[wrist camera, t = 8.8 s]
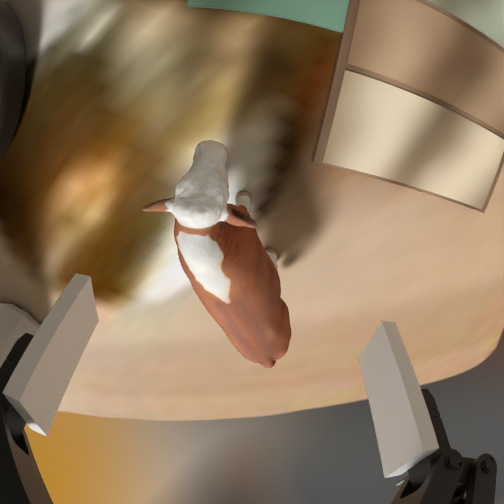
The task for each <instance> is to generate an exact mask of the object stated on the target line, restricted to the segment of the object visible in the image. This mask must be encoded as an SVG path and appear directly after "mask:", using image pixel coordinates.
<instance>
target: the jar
mask: <svg viewBox="0 0 504 504" xmlns="http://www.w3.org/2000/svg"><path fill="white" fill-rule="evenodd" d="M40 326H41V325H40V324H39V323H38V322H37V321H36V320H35V319H34V318H33V317H32V316H30V315H29V314H28V313H27V312H26V311H24V310H22V309H20V308H19V307H17V306H15V305H13V304H7V303H0V368H1V366H2V364H3V362H4V361H5V359H6V357H7V355H8V354H9V352H11V349H12V347H13V346H14V344H15V342H16V341H17V340H18V339H19V338H20V337H21V336H23V335H24V334H25V333H29V334H31V335H35V334H36V332H37V331H38V329H39V327H40Z"/></svg>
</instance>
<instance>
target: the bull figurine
mask: <svg viewBox="0 0 504 504" xmlns="http://www.w3.org/2000/svg"><path fill="white" fill-rule="evenodd" d="M227 156H228V151H227V148H226V147H225V146H224V145H223V144H221V143H219V142H216V141H212V140H207V141H203V142H201V143H199V144H198V145H197V147H196V150H195V154H194V158H193V165H192V167H191V169H190V170H189V172H188V173H187V174H186V175H185V176H184V177H183V178H182V179H181V181H180V182H179V183H178V184H177V186H176V195H175V197H173V198H169V199H163V200H160V201H156V202H154V203H151V204H149V205H146V206H144V207H143V208H142V210H143V211H156V212H164V211H169V212H172V213H173V214H174V216H175V217H176V218H175V226H174V237H175V241H176V244H177V247H178V255H179V259H180V263H181V265H182V268H183V270H184V272H185V274H186V275H187V277H188V278H189V280H190V282H191V284H192V286H193V288H194V290H195V292H196V294H197V295H198V297H199V298H200V300H201V302H202V303H203V305H204V306H205V308H206V309H207V311H208V312H209V313H210V315H211V316H212V317H213V318H214V319H215V321H216V322H217V323H218V324H219V325H220V327H221V328H222V329H223V330H224V332H225V333H226V335H227V337H228V338H229V340H230V341H231V343H232V344H233V345H234V346H235V348H236V349H237V350H238V351H239V352H240V353H241V354H242V355H243V356H244V357H245V358H246V359H248V360H250V361H252V362H255V363H260V364H262V365H263V366H264V367H266V368H272V367H273V366H274V364H275V362H276V360H277V359H279V358H281V357H282V356H284V355H285V354H286V352H287V350H288V346H289V342H290V338H291V327H290V320H289V311H288V307H287V305H286V303H285V302H284V301H283V300H282V299H281V297H280V294H281V287H280V279H279V275H278V272H277V265H276V260H277V253H276V251H275V250H274V249H272V248H268V249H265V250H264V247H263V245H262V243H261V241H260V239H259V237H258V235H257V232H256V229H255V227H256V226H257V224H256V222H255V221H254V220H253V219H252V218H251V217H250V214H249V212H250V211H251V209H250V203H251V196H250V194H249V193H247V192H245V191H241V192H239V193H238V194H237V196H236V205H233V204H227V201H228V198H229V190H228V189H229V183H228V176H227V173H226V170H225V165H226V162H227Z"/></svg>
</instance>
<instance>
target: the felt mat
mask: <svg viewBox="0 0 504 504" xmlns="http://www.w3.org/2000/svg"><path fill="white" fill-rule="evenodd" d="M348 5H349V0H187V5H186V6H187V7H195V8H211V9H222V10H232V11H240V12H248V13H255V14H261V15H267V16H273V17H278V18H284V19H289V20H293V21H298V22H302V23H307V24H311V25H315V26H319V27H323V28H326V29H330V30H334V31H337V32H340V33H342V32H343V30H344V25H345V20H346V15H347V10H348Z"/></svg>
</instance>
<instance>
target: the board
mask: <svg viewBox="0 0 504 504" xmlns="http://www.w3.org/2000/svg"><path fill="white" fill-rule="evenodd" d="M312 162H313V163H314V164H319V165H323V166H327V167H332V168H336V169H340V170H344V171H349V172H353V173H357V174H361V175H365V176H368V177H372V178H376V179H380V180H383V181H387V182H391V183H394V184H398V185H401V186H404V187H408V188H411V189H415V190H418V191H421V192H424V193H428V194H431V195H434V196H437V197H440V198H443V199H446V200H449V201H452V202H455V203H458V204H461V205H464V206H466V207H469V208H472V209H475V210H478V211H480V212H483V213H484V212H485V209H486V207H487V205H488V202H489V200H490V198H491V195H492V193H493V190H494V188H495V185H496V182H497V180H498V177H499V174H500V172H501V169H502V166H503V163H504V0H349V5H348V10H347V15H346V20H345V25H344V30H343V32H342V33H341V38H340V43H339V47H338V52H337V56H336V61H335V65H334V70H333V74H332V79H331V83H330V88H329V92H328V96H327V100H326V105H325V109H324V113H323V117H322V121H321V125H320V130H319V134H318V138H317V142H316V146H315V150H314V154H313V158H312Z"/></svg>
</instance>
